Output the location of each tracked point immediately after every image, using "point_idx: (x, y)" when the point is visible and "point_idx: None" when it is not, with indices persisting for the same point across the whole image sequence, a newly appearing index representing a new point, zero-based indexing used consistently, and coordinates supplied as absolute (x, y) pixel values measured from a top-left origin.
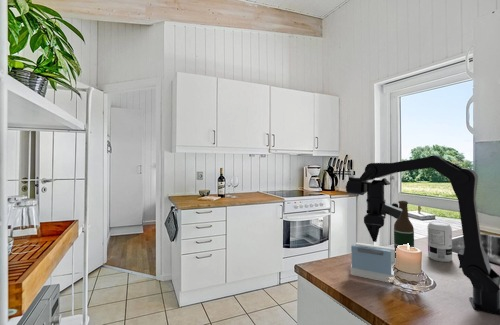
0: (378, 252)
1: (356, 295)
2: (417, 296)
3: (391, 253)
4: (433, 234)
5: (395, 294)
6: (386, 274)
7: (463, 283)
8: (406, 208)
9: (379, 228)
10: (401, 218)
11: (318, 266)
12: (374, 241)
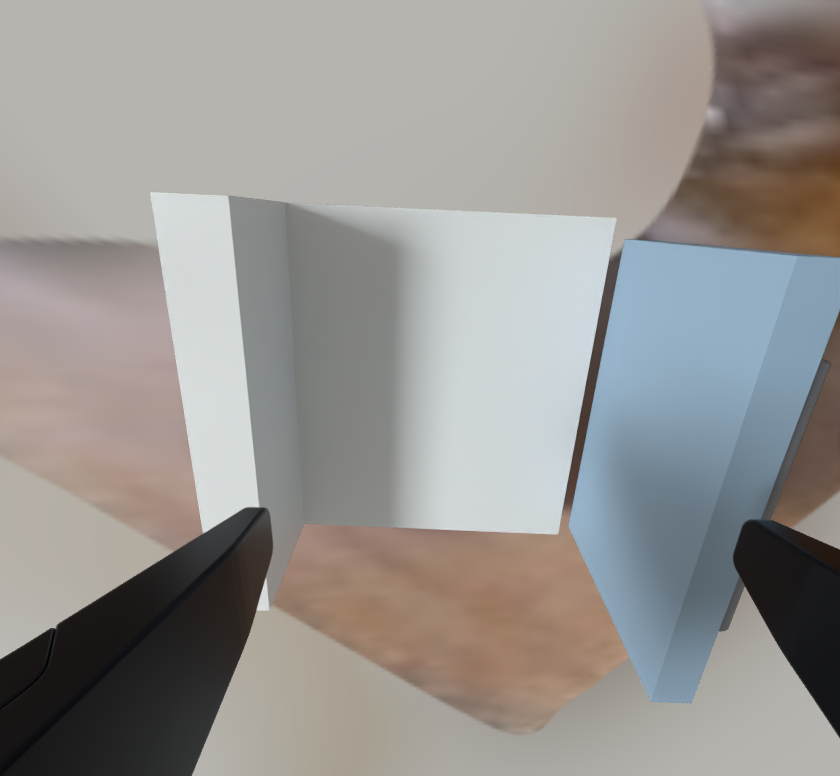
0: (806, 419)
1: (836, 438)
2: (769, 39)
3: (256, 237)
4: None
5: (772, 209)
6: (601, 278)
7: None
8: None
9: (186, 592)
10: None
11: (492, 662)
12: (760, 545)
